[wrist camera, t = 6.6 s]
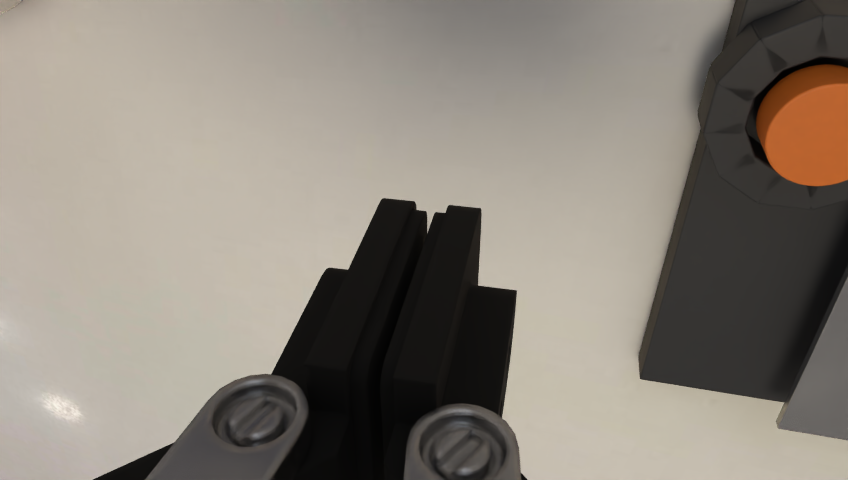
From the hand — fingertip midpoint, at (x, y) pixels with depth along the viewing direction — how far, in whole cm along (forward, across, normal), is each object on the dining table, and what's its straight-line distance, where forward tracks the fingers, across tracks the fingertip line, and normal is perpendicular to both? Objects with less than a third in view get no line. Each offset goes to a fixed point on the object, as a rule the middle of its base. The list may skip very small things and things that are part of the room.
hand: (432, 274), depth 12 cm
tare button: (+12, -9, +2) cm, 15 cm away
